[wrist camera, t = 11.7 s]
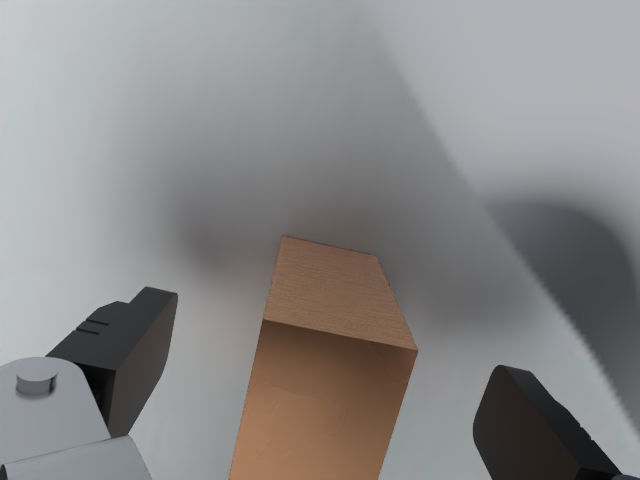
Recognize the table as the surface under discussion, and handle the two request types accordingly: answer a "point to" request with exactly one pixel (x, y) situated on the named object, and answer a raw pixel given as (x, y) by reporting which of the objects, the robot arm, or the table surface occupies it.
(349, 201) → the table surface
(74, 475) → the robot arm
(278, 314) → the rake
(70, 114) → the table surface
